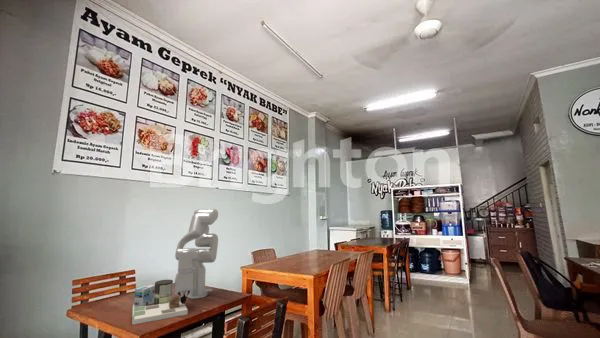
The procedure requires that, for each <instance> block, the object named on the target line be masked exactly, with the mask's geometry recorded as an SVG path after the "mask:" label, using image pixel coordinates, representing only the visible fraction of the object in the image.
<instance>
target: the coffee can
mask: <svg viewBox="0 0 600 338" xmlns="http://www.w3.org/2000/svg"><path fill="white" fill-rule="evenodd" d="M173 283H174V280H172V279H162V280H161V279H160V280H157V281H155V282H154V285H155V296H154V303H153V305H158V304H164V303H169V297H173V286H174V285H173Z"/></svg>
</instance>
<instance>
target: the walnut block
mask: <svg viewBox="0 0 600 338" xmlns="http://www.w3.org/2000/svg"><path fill="white" fill-rule="evenodd" d="M180 301H181V297H180V296H179V295H178V296H177V295H176V296H172V297H169V308H170V309H172V308H178V307H179V304H180Z"/></svg>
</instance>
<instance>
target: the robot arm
mask: <svg viewBox="0 0 600 338" xmlns="http://www.w3.org/2000/svg"><path fill="white" fill-rule="evenodd" d="M218 217H219V212H218V210H217V209H216V208H201V209H195V210H194V212H193V215H192V217H191V220H190V223H189V227H188V231H187V233H186V234H185V235H184V236H183V237H182V238H181V239H180V240H179V242H178V243H177V245H176V249H175V254H174V255H175V256H174V257H175V259H176V261H178V262H177V263H178V264H177V273H176V275H175V280H174V288H173V289H174V291H173V295H178V296H179V297H180V302H181V303H182V304H185V305H186V302H187V298H188V299H191V300H192V299H193V300H194V299H195V300H198V299H202V298H205V297H207V296H208V293H212V292H213V288H206V273H207V272H206V266H205V265H204V264H205V263H208V264H210V263H211V264H212V263H214V262H215V261H216V260H217V254H218V247H219V237H218V235H217V233H210V226H211V225H213V224H214V223H215V222H216V221H217V219H218ZM191 241H194V244H195V247H196V248H194V247H188V248H186V247H185V246H186V245H187V244H188V243H190V242H191Z"/></svg>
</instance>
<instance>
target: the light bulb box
mask: <svg viewBox="0 0 600 338" xmlns="http://www.w3.org/2000/svg"><path fill="white" fill-rule="evenodd" d="M154 296H155V284H153V285H152V284H145V285H143V286H140V287H137V288H135V289H134V298H133V299H134V300H133V305H134V307H139V306H151V305H152V304H154Z"/></svg>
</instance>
